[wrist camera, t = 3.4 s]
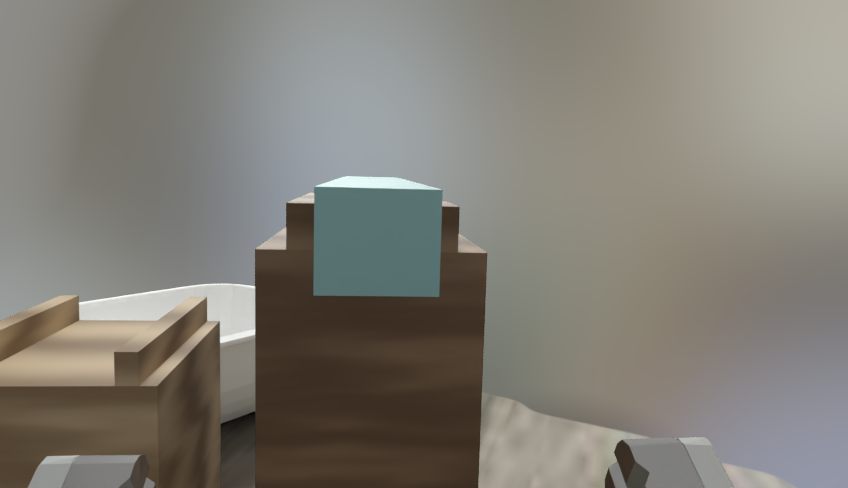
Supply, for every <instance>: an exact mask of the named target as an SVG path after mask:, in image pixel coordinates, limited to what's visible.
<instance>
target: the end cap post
mask: <svg viewBox="0 0 848 488" xmlns="http://www.w3.org/2000/svg"><path fill="white" fill-rule="evenodd" d="M486 270H487V253H486V252H485V251H484V250H482V249H481V248H479V247H478V246H476V245H475V244H473V243H472V242H471V241H469V240H468V239H466V238H465V237H463V236H462V235H460V234H459V206H456V205H454V204H451V203H449V202H446V201H444V200H442V224H441V256H440V288H439V297H411V296H314V295H313V284H314V193H309V194H306V195H304V196H301V197H299V198H297V199H294V200H292V201H290V202H287V203H286V227H285V228H284V229H283V230H281V231H280V232H278V233H277V234H276V235H274V236H273V237H271V238H270V239H269V240H267V241H266V242H265V243H263V244H262V245H260V246H259V247H258V248H256V249H255V486H256V488H478V475H479V450H480V424H481V399H482V373H483V347H484V323H485V322H484V321H485V297H486V272H487V271H486Z"/></svg>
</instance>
